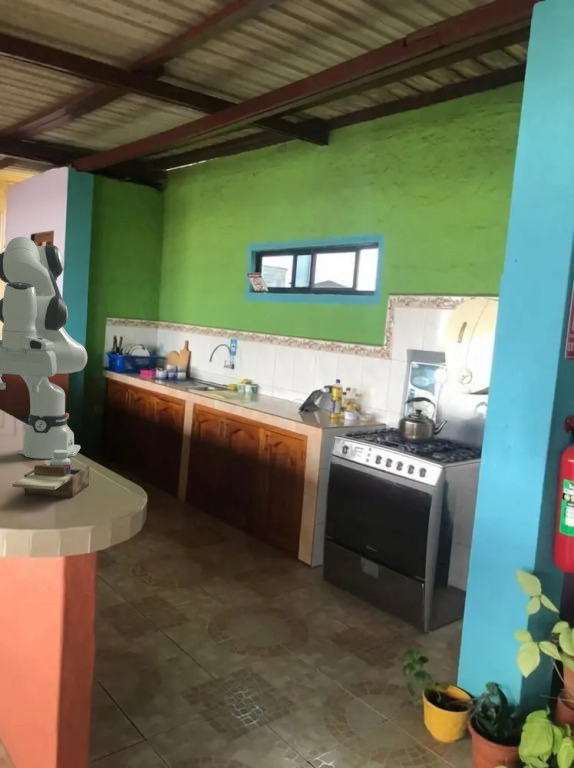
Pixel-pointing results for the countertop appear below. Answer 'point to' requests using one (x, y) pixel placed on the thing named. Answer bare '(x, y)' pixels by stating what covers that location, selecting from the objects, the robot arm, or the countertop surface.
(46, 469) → the lid
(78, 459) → the countertop surface
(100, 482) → the countertop surface
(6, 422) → the countertop surface
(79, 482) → the lid box
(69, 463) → the pill bottle
